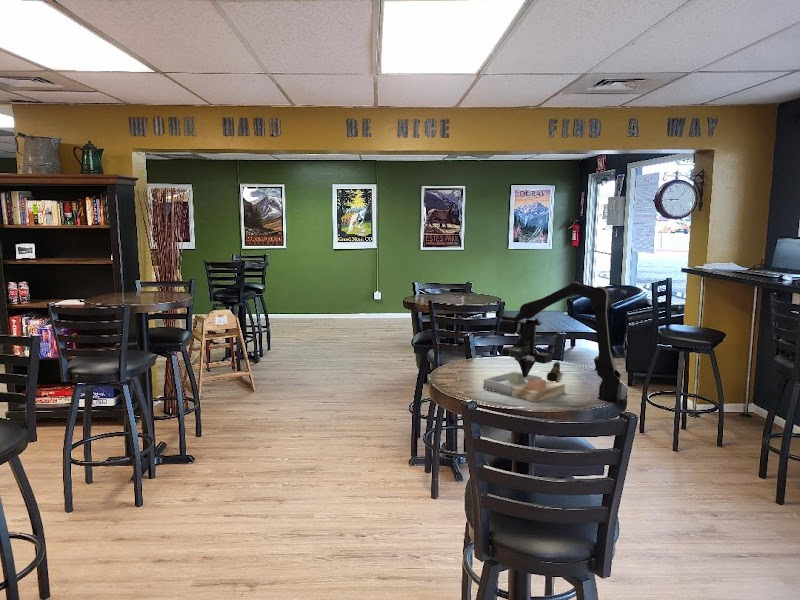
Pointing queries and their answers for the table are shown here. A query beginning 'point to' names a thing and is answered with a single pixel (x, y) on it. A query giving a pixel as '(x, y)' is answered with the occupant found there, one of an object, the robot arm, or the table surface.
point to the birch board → (536, 396)
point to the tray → (504, 383)
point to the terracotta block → (536, 384)
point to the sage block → (516, 377)
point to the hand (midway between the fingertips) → (524, 377)
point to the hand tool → (554, 372)
